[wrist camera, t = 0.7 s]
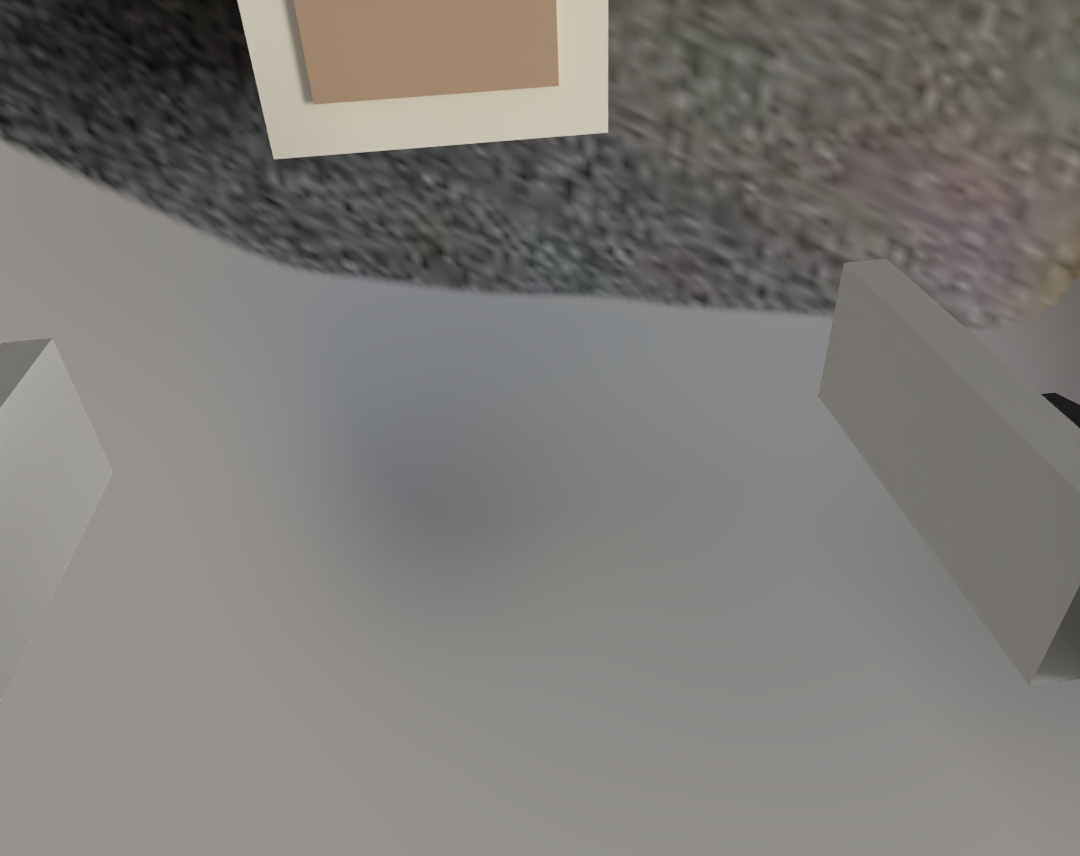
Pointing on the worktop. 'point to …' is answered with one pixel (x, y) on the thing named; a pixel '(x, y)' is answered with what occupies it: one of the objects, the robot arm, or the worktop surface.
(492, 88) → the lid
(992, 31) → the worktop surface
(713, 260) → the worktop surface
